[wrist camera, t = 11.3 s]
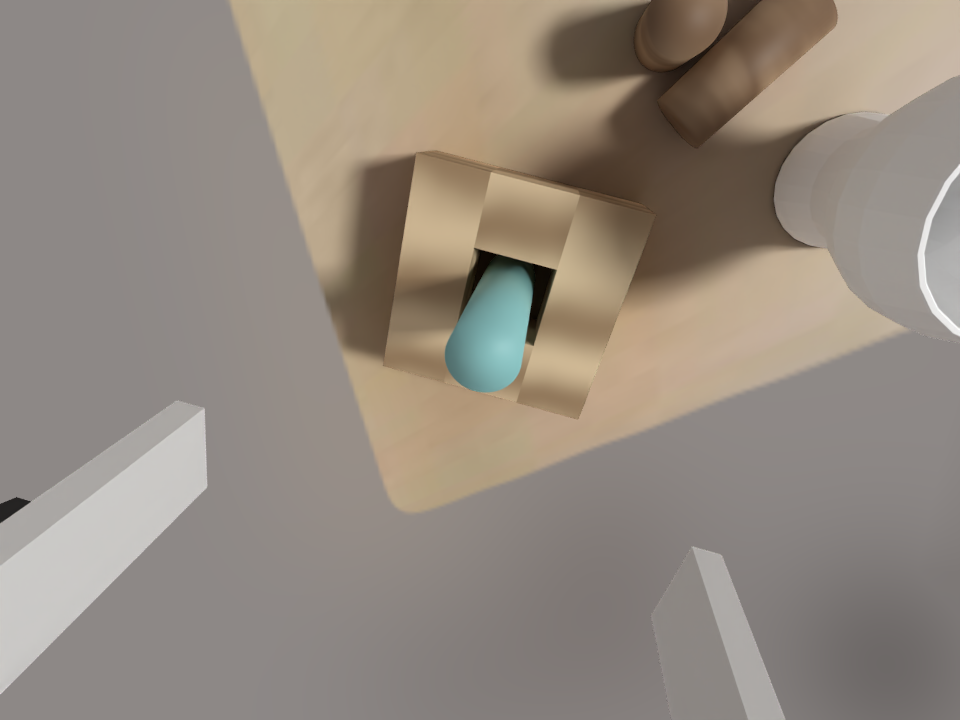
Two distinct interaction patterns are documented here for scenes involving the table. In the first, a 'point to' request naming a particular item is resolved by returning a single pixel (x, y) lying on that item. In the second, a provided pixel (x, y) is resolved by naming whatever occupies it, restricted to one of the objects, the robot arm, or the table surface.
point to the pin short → (677, 31)
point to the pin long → (493, 327)
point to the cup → (885, 207)
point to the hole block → (524, 236)
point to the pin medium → (744, 64)
